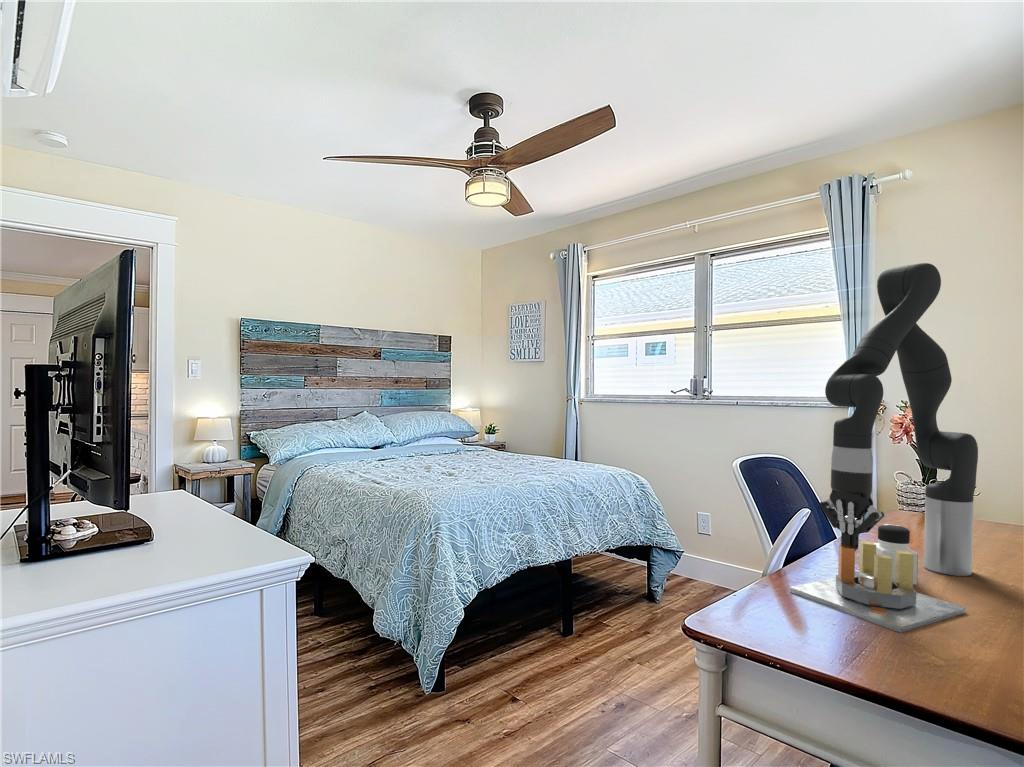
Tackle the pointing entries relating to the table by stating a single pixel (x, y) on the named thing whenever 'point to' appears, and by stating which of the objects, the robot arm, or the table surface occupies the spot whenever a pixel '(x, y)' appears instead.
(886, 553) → the medicine bottle
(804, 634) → the table surface
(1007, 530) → the table surface
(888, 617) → the base plate
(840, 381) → the robot arm
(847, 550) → the octagonal frame
